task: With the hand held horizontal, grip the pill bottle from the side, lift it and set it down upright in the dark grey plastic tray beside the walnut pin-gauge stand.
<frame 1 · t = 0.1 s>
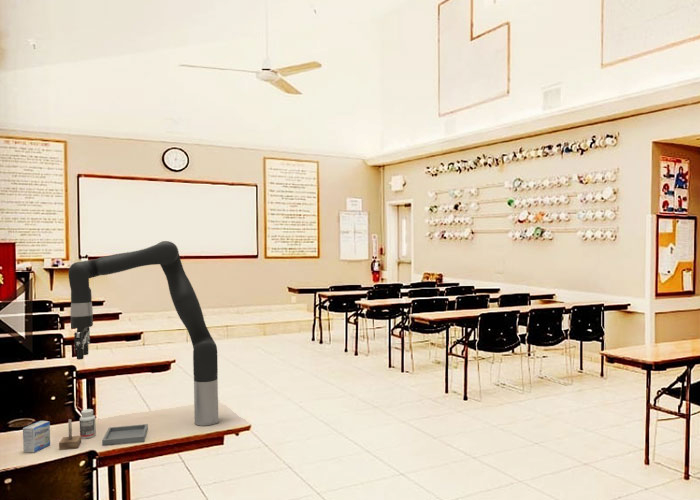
hand: (82, 357, 209), 29 cm above the table, tool pointing down, fingers open, 8 cm apart
medicine box: (37, 449, 195), on the table
tray: (126, 437, 206), on the table
gauge stand: (70, 446, 197), on the table
pill bottle: (87, 437, 207), on the table
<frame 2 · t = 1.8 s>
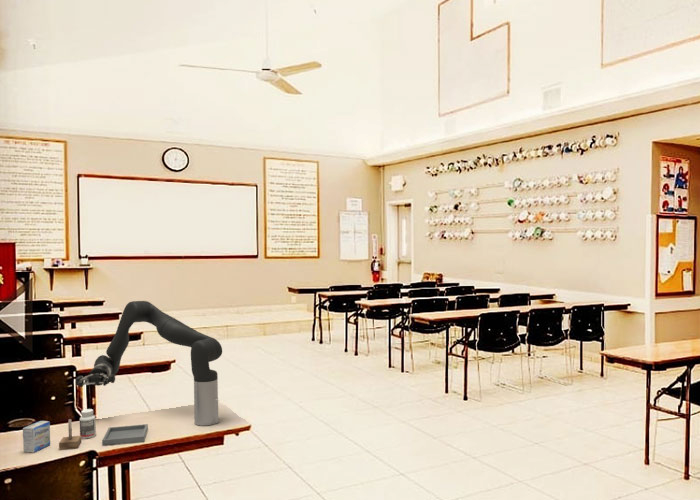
hand: (92, 383, 217), 17 cm above the table, tool horizontal, fingers open, 8 cm apart
nothing on the table moved.
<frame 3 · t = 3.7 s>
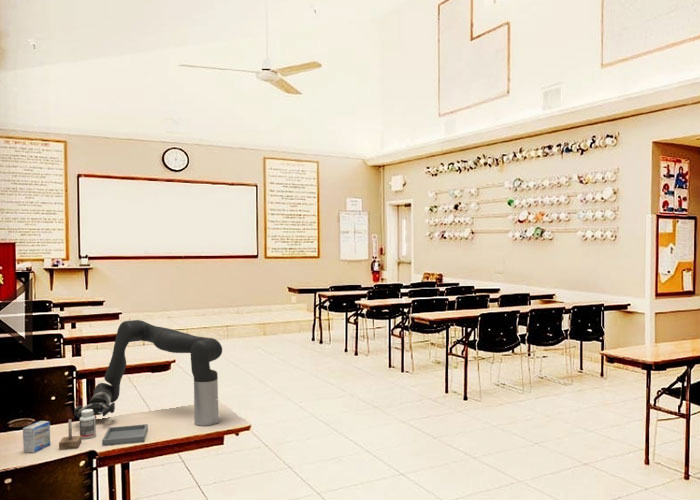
hand: (91, 414, 214), 6 cm above the table, tool horizontal, fingers open, 8 cm apart
nothing on the table moved.
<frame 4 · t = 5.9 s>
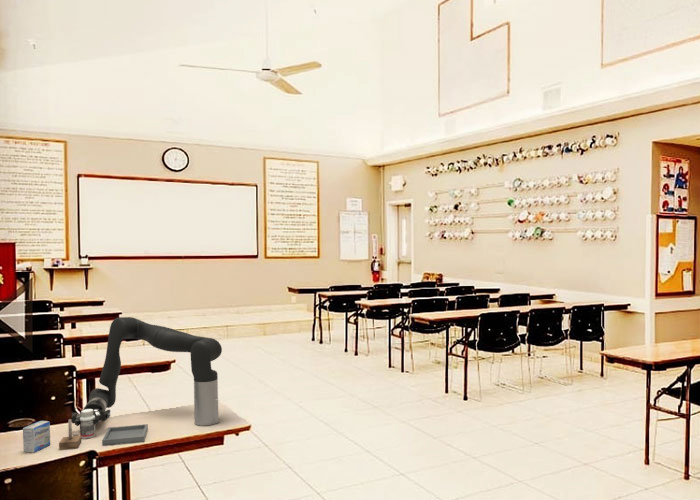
hand: (86, 422, 204), 6 cm above the table, tool horizontal, fingers closed on pill bottle, 5 cm apart
pill bottle: (87, 436, 207), on the table, touching gripper
everything else where it was.
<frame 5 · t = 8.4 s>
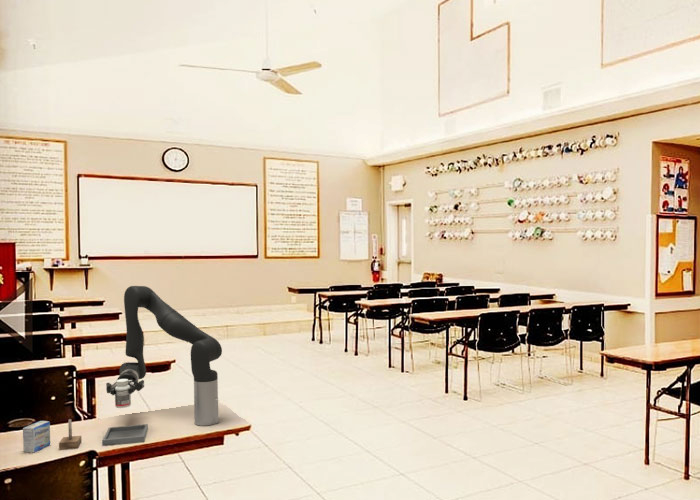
hand: (121, 391, 203), 18 cm above the table, tool horizontal, fingers closed on pill bottle, 5 cm apart
pill bottle: (123, 406, 205), point 11 cm above the table, touching gripper
everything else where it was.
when the fingers open (8 cm above the table, at t = 10.9 s): pill bottle stays where it is, resting on tray.
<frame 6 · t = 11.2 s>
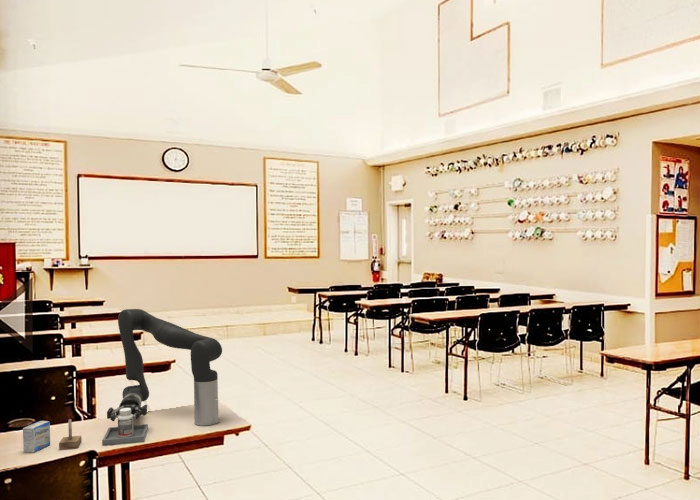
hand: (124, 417, 203), 8 cm above the table, tool horizontal, fingers open, 7 cm apart
pill bottle: (125, 436, 206), resting on tray
everything else where it was.
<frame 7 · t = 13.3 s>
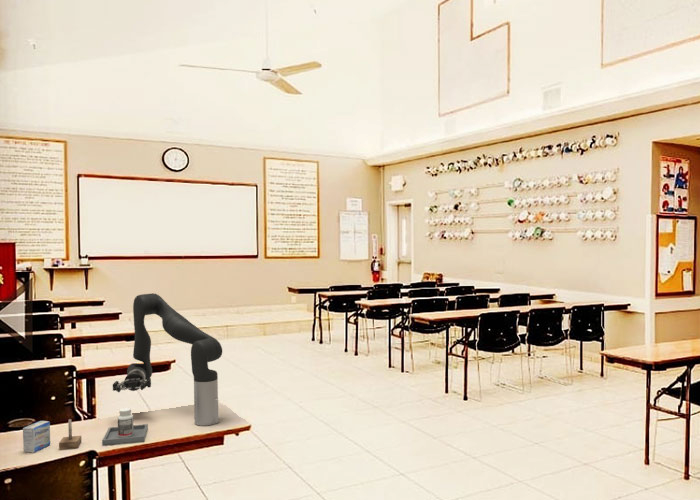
hand: (130, 388, 217), 15 cm above the table, tool horizontal, fingers open, 8 cm apart
nothing on the table moved.
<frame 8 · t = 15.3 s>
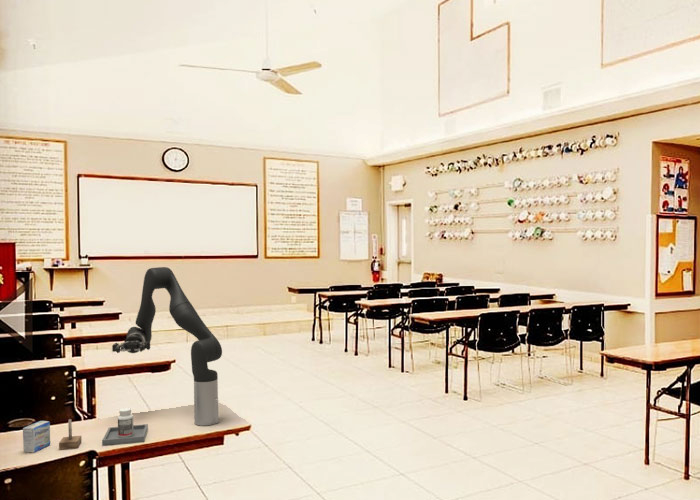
hand: (129, 349, 219), 30 cm above the table, tool horizontal, fingers open, 8 cm apart
nothing on the table moved.
at the end: pill bottle inside the target area on the tray (0.2 cm from its centre), point 0.4 cm above the tray's base; pill bottle tilted 0°; the gripper is holding nothing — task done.
